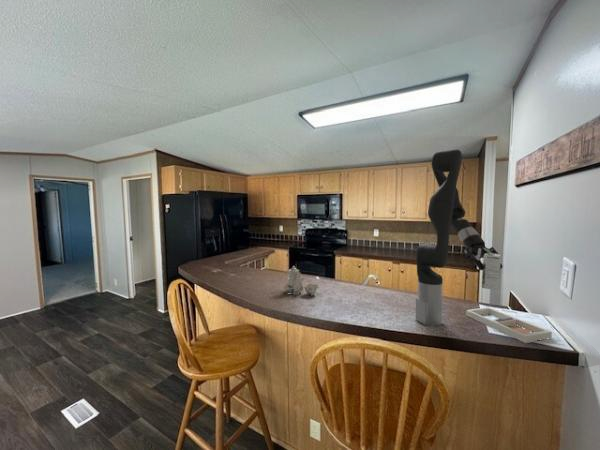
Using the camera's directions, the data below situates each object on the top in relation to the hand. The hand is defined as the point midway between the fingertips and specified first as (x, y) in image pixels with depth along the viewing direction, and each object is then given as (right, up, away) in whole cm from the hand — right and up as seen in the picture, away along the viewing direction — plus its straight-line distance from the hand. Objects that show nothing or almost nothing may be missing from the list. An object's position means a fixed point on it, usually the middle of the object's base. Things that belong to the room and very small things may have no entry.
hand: (491, 268), depth 107 cm
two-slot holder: (+2, -23, -4) cm, 23 cm away
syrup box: (0, -8, +1) cm, 8 cm away
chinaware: (-83, -22, +43) cm, 96 cm away
